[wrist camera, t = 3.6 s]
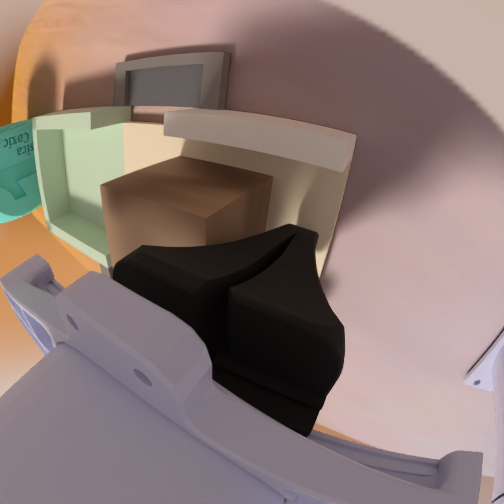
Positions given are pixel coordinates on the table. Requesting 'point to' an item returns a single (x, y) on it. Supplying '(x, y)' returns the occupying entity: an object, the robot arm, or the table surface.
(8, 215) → the decorative dice
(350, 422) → the table surface
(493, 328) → the table surface
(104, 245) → the tray
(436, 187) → the table surface
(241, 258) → the robot arm
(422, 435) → the table surface
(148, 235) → the walnut cube
